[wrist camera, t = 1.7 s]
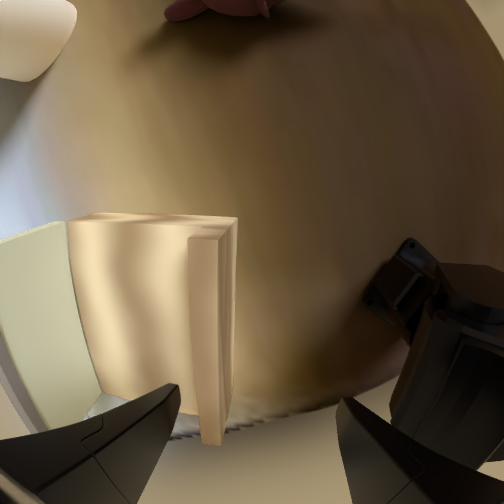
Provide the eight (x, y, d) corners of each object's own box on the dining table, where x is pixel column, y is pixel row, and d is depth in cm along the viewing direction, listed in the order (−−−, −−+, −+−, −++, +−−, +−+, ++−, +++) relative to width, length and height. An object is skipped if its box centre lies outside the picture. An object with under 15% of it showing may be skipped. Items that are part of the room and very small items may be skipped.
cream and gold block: (237, 217, 20) (218, 240, 13) (233, 389, 24) (221, 446, 17) (96, 212, 20) (38, 230, 14) (120, 368, 25) (88, 412, 18)
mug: (-3, 108, 18) (-68, 106, 8) (7, 43, 15) (-47, 30, 5) (71, 56, 17) (-7, 27, 6) (82, -11, 14) (27, -48, 4)
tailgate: (67, 219, 16) (-34, 254, 8) (104, 394, 21) (59, 460, 12) (53, 218, 17) (-44, 252, 8) (91, 389, 21) (45, 452, 12)
